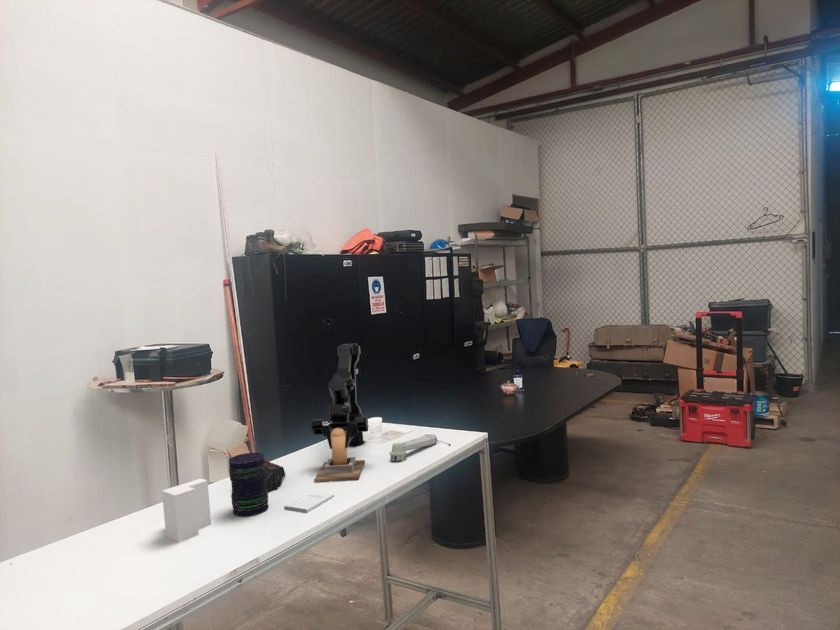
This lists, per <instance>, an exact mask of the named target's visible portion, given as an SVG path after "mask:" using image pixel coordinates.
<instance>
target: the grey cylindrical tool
mask: <svg viewBox="0 0 840 630" xmlns="http://www.w3.org/2000/svg"><path fill="white" fill-rule="evenodd" d="M437 442H438V438H437V436H436V435H435V434H431V433H430V434H424V435H423V436H420V437H417V438H416V437H415V438H413V439H410V440H407V441H403V442H393V443H392V447H391V451H390V452H389V455H390V461H392V462H399V461H400V462H403V461H405V459H406V455H407V451H411V450H412V451H413V450H416V449H420V448H424V447H425V448H426V447H429V446H430V447H431V446H434V445H435V444H437ZM433 444H434V445H433Z"/></svg>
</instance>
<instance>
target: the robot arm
mask: <svg viewBox="0 0 840 630" xmlns="http://www.w3.org/2000/svg"><path fill="white" fill-rule="evenodd" d="M357 343H358V342H357ZM357 343H344V344H343V343H341V345H339V346H337V356H338V357H339V358H338V365H337V367H338V368H337V371H336V372H335V373H334V374H333V377H332V378H331V379H330V380H329V382H328V383H327V386H328V390H329V393H330V396H331V398H332V404H331V405H329V407H328V408H329V410H328V411H329V412H328V413H329V414H328V415H329V419H330V421H331V422H329V421H324V419H323V418H320V419H319V418H318V419H317V418H316V419H312V420H311V421H310V429H311V432H312V433H313V435H316V436H318V435H319V436H320V435H323V436H322V437H326V439H327V443H328V445H329V449H330V450H332V445H331V432H332V430H333V429H335V428H342V429H343V430H344V431H345V435H346V442H345V447H346V449H348V448H349V447H358V446H360V445H362V444H365V443H366V441H365V440H364V434H363V433H367V432H368V431H369V422H368V418H367V416H366V415H364V414H363V412H362V408H361V407H360V406H359V404H358V403H357V401H358V400H357V397H358V396H357V376H356V375H357V373H356V372H357V370H356V366H357V365H358V363H359V361H360V355H361V351H362V350H361V346H360V345H358V344H357Z"/></svg>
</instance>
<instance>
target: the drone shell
mask: <svg viewBox="0 0 840 630" xmlns="http://www.w3.org/2000/svg"><path fill="white" fill-rule="evenodd" d="M264 460H265V464H266V475H265V480H266V487H267V490H268V494H269V492H270V493H272V492H274V491H273V490H275V491H277V490H278V489H279V488H281V485H282V484H283V482H284V478H285V477H286V471H285V469H284V466H281V465H279V464H277V463H276V464H275V463H273V462H270V460H267V459H265V458H264ZM278 487H279V488H278ZM271 491H272V492H271Z"/></svg>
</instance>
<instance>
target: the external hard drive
mask: <svg viewBox="0 0 840 630" xmlns="http://www.w3.org/2000/svg"><path fill="white" fill-rule="evenodd" d="M333 497H334V498H335V494H334V493H330V492H321V491H314V490H313V491H310V492H309V493H307V494H305V495H303V496H301V497H299V498H297V499H295V500H293V501H292V502H290V503H287V504H286V505H285V506H283V509H284V510H286V511H287V510H288V511H293V512H298V513H299V512H300V513H305V514H308V513H310V512H311V511H313V510H315V509H317V508H319V507H320V506H322V505H323V503H324V504H325V503H327V502H328V500H329V501H331V500H332V499H334V498H333ZM331 498H332V499H331Z"/></svg>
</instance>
